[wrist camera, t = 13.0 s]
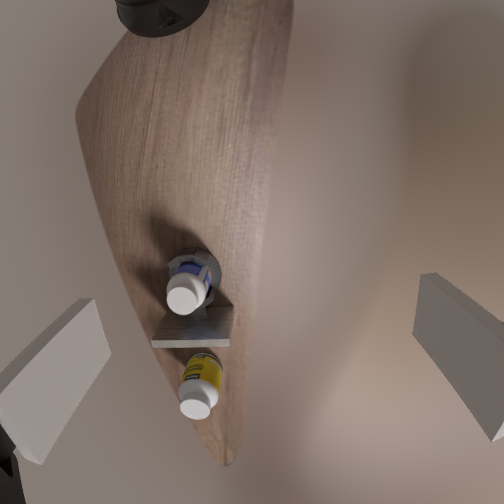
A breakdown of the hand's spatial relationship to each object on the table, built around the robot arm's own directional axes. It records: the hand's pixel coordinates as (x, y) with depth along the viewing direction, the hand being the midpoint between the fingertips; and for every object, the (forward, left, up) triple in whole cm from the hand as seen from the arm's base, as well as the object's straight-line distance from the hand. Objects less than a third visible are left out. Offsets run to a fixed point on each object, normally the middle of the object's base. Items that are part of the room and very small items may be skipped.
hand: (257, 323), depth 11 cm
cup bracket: (+15, -3, -35) cm, 38 cm away
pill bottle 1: (+14, -4, -34) cm, 37 cm away
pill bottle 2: (+30, +4, -35) cm, 46 cm away
